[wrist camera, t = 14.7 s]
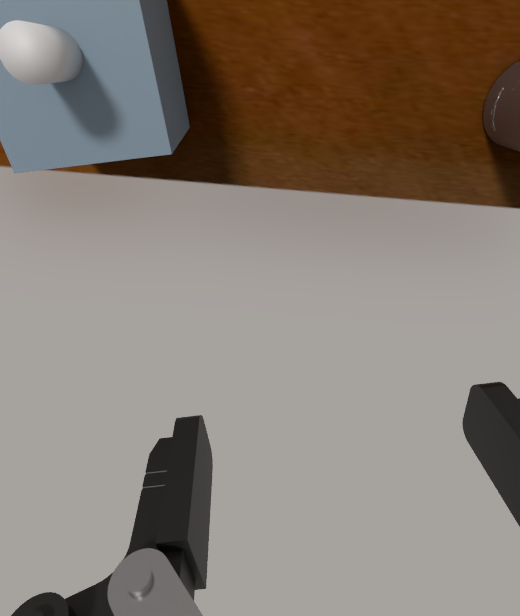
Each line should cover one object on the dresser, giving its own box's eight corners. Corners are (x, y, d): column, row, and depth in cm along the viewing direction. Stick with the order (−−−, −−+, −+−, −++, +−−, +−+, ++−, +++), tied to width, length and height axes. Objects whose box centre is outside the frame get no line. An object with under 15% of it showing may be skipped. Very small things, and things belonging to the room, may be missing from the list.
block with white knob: (158, -46, 36) (91, -139, 19) (189, 127, 44) (161, 168, 27) (22, -29, 36) (-163, -107, 19) (77, 140, 44) (-21, 190, 27)
